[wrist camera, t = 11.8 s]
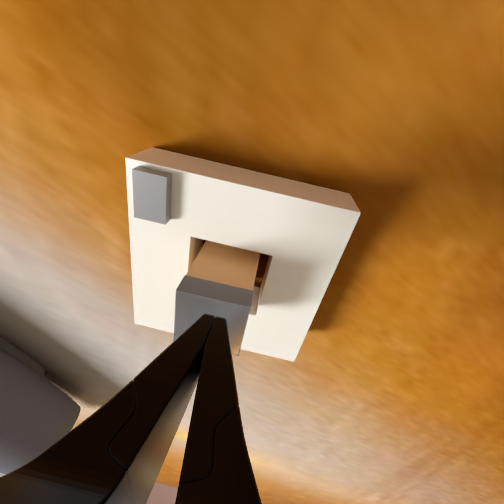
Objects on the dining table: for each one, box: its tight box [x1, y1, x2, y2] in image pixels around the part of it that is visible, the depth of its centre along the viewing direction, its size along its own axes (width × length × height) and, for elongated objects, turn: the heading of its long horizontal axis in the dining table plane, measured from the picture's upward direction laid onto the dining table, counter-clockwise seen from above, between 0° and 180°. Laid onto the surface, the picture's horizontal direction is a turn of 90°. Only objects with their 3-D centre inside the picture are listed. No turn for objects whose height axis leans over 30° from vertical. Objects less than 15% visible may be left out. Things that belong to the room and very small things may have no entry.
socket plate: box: [125, 147, 361, 362], centre depth 20 cm, size 14×14×4 cm
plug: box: [174, 240, 260, 356], centre depth 19 cm, size 4×4×8 cm
